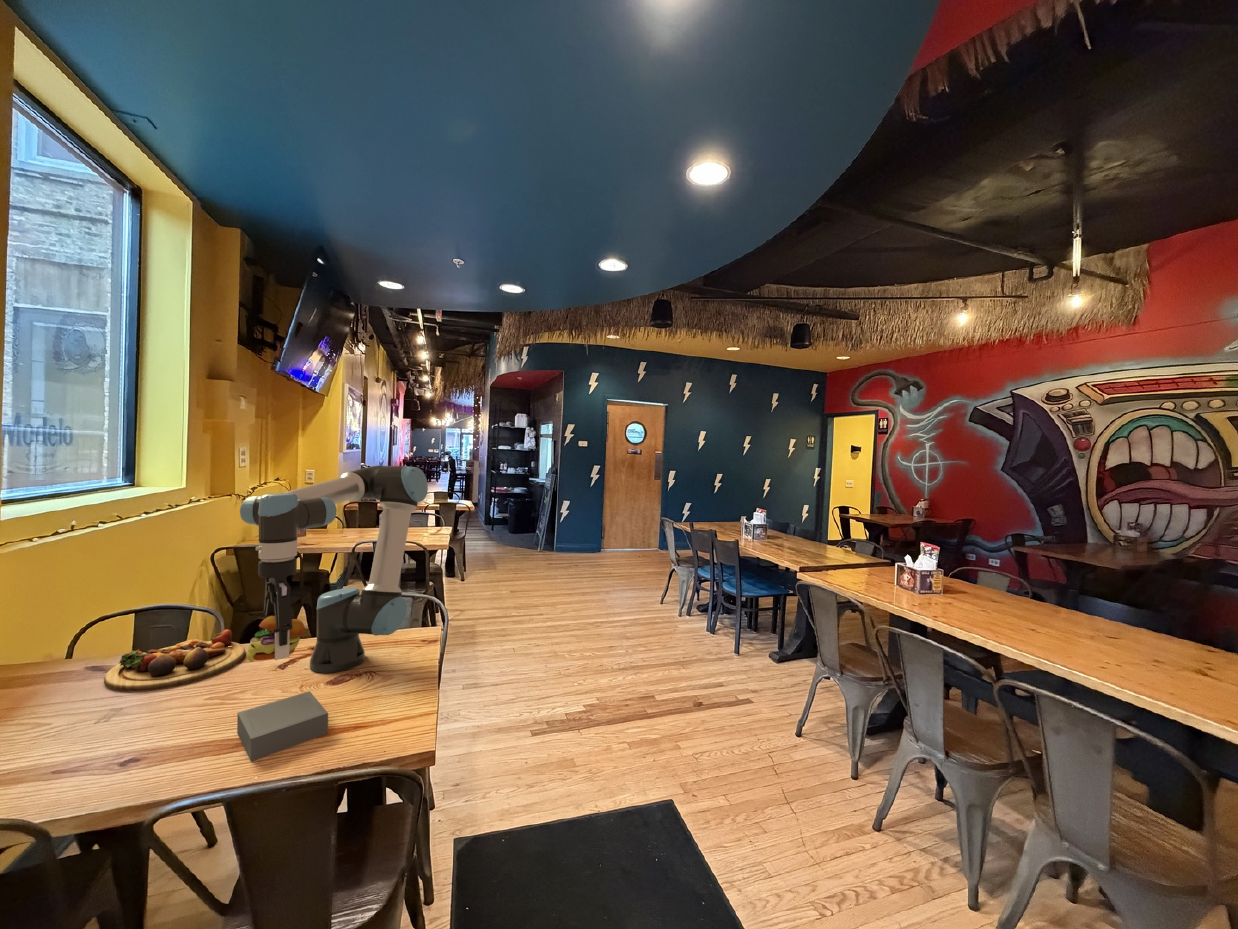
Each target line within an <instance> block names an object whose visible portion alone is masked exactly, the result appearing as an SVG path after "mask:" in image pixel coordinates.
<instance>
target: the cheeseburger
mask: <svg viewBox="0 0 1238 929" xmlns="http://www.w3.org/2000/svg"><path fill="white" fill-rule="evenodd" d="M285 625H286V624H285ZM282 626H283V625H282ZM292 626H293V627H292V629H290V640H289V656H291V654H293V653H294V652H295V650H296V648H297V647H298V645H299V642H300V639H301V636H303V635H304V633H305V624H304V622H303V621H302V620H300V619H298V618H292ZM258 627H260V628H261V629H262V630H261V631H257V632H256V633H255V634H254V637H252V638H251V639H250V642H249V644H248V645H247V648H246V649H247V652H246V653H245V656H246V657H245V658H247V660H248V661H249V662H250V663H253V662H255V661H267V660H275V633H273V630H275V629H276V621H275V616H269V617H267V618H264V619H263V620H262V621H261V622H260V623H259V625H258ZM265 629H267V630H266V631H265Z"/></svg>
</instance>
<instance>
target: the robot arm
mask: <svg viewBox="0 0 1238 929" xmlns="http://www.w3.org/2000/svg"><path fill="white" fill-rule="evenodd" d="M428 490H429V488H428V480H427V477H426V475H425V473H424V471H423V470H422V469H420V468H419V467H417V466H408V465H403V466H402V465H374V466H373V465H372V466H366V467H362V468H359V469H356V470H352V471H349V472H344V473H342V474H341V475H340V477H337V478H334V479H330V480H326V481H321V482H319V483H315V484H311V485H306V486H303V487H299V488H295V489H291V490H288V491H284V492H281V493H279V492H277V493H267V494H266V493H265V494H262V495H258V496H255V495H254V496H249V497H247V498H246V499H244V501H242V502H241V504H240V507H239V516H240V518H241V520H242V521H243V522H244V523H245V524H249V525H254V526H258V545H259V546H256V547H255V551H257V552H258V559H260V560H259V561H258V562H257V563H258V564H257V567H258V568H257V569H258V570H257V575H258V577H260V578H262V579H264V581H265V586H264V587H265V588H264V599H263V600H264V601H263V610H262V611H263V612H262V613H263V614H264V619H266V618H267V617H269V616H275V621H276V629H275V630H273V633H275V659H274V661H279V660H283V659H287V658H290V655H289V640H290V629H292V627H293V626H292V619H293V618H292V616H293V615H292V603H291V602H292V601H291V600H292V599H291V590H292V587H291V585H290V582H287V577H289V576H293V575H295V574H296V573H297V571H298V568H297V566H298V561H297V560H298V559H297V558H296V556H298V531H301V530H307V529H312V528H320V527H323V526H327V525H330V524H331V523H333V521H334V520H335V519H336V517H337V515H338V514H337V509H338V508H337V506H336V505H337V504H341V503H343V502H347V501H349V502H356V501H359V500H376V501H377V500H378V502H379V506H380V507H381V508H382V515H381V518H380V524H379V528H378V529H379V530H378V535H377V539H376V545H375V550H374V555H373V559H372V560H373V561H372V566H371V571H370V575H369V580H368V584H366V585H365V586H364V587H363V588H362V590H361V591H360V588H358V587H355V586H353V587H344V588H343V587H342V588H340V589H338V588H337V589H334V590H329V591H327V592H324V593H322V594H321V595H319V596H318V598H317V602H316V603H317V605H316V643H315V645H314V648H313V651H312V654H311V657H310V659H309V669H310V670H311V672H315V673H318V674H320V673H321V674H330V673H331V674H332V673H338V672H343V671H347V670H350V669H352V668H355V667H357V666H358V665H361V664H362V663H363V662H364V661H365V652H366V651H365V649H364V646H363V644H362V641H361V638H360V634H362V635H363V634H365V635H372V636H375V637H376V636H391V635H393V634H394V633H395V632H397V631H398V630H399V628H400V627H401V626H402V624H403V623H404V621H405V619H406V615H407V612H408V604H407V600H406V599H405V598H404V597H402V593H403V590H402V589H401V588H400V586H399V582H400V578H401V571H402V565H403V561H404V554H405V549H406V544H407V538H408V532H409V528H410V527H409V526H410V522H411V516H412V513H413V512H414V511H415V510H417V508H418V504H419V503H421V502H423V501H424V500H425V499H426V497H427V495H428ZM360 592H361V593H360ZM285 624H286V625H285ZM282 625H283V626H282ZM264 630H265V631H266V630H267V629H264Z"/></svg>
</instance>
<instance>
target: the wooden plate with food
mask: <svg viewBox="0 0 1238 929" xmlns="http://www.w3.org/2000/svg"><path fill="white" fill-rule="evenodd" d="M232 640H233V632H232V630H231V629H223V630H222V631H220V632H219V631H218V633H216V635H214V636H212V637H211V638H210V640H201V639H198V638H193V639H188V640H185V641H183V642H179V643H176V644H175V645H171V646H168V647H167V646H166V647H163V648H159V649H154V648H153V649H148V650H146V651H145V653H143V651H141V650H140V648H138V649H137V650H131V651H128V652H127V653H123V655H121V658H120V660H119V662H118V664H116V665H115V666H113V667H112V668H111V669H110V670H108V672H107V673H105V676H103V677H104V678H103V682H104V684H105V686H107V687H108V688H109V689H112V690H114V691H120V692H147V691H155V690H156V691H157V690H162V689H168V688H174V687H177V686H183V685H187V684H190V683H194V682H196V681H201V680H203V679H206V678H210V677H213V676H214V675H218V674H220V673H222V672H224V671H227V670H229V669H230V668H232V667H234V666H235V665H237V664H238V663H240V661H242V659H243V658H244V657H245V655H246V649H245V647H244V646H243V645H242V644H241V643H238V642H234V641H232ZM228 646H232V647H228Z"/></svg>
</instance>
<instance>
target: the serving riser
mask: <svg viewBox="0 0 1238 929" xmlns="http://www.w3.org/2000/svg"><path fill="white" fill-rule="evenodd" d="M236 718H237V725H236V726H237V727H236V728H237V729H236V730H237V731H236V732H237V736H238V737H239V740H240V742H241V744H242V746H243V748H244V751H245V752H246V755H247V756H248V760H249V761H250V762H253V761H257V760H259V759H262V758H264V757H268V756H270V755H273V754H276V753H279V752H281V751H284V750H287V749H289V748H292V747H295V746H298V745H302V744H304V743H305V742H308V741H311V740H314V739H317V738H320V737H323V736H325V735H328V734H329V712H328V711H327V710H326V709H325V708H324V707H323V705H322V704H321V702H320V701H319V700H318V699H317V698H316V697H315V696H314V695H313V693H312V692H311V691H310V690H309V691H304V692H302V693H299V694H295V695H291V696H288V697H286V698H282V699H278V700H275V701H272V702H268V703H264V704H263V705H259V706H255V707H251V708H248V709H245V710H241V711H238V712H237V716H236Z"/></svg>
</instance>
